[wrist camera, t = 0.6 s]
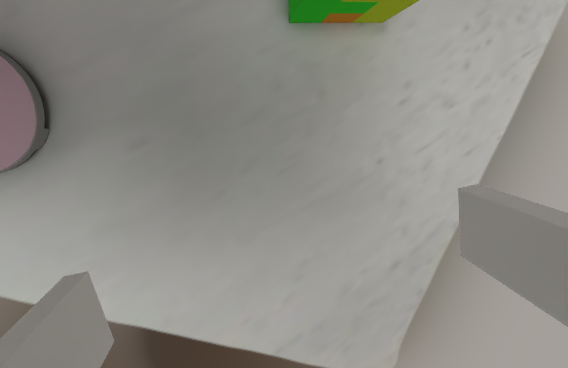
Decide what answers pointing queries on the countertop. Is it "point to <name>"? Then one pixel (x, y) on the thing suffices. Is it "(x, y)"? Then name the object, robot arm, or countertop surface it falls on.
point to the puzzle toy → (345, 10)
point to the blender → (19, 115)
